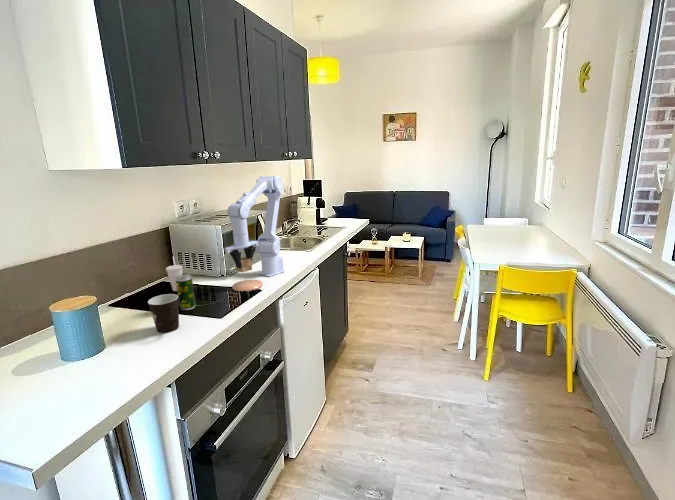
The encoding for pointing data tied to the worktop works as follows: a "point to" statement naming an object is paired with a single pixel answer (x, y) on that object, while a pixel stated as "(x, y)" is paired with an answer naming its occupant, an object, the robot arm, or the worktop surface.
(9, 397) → the worktop surface
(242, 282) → the terracotta dish
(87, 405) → the worktop surface
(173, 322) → the coffee mug
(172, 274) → the smoothie
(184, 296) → the beer can
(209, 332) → the worktop surface
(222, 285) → the worktop surface
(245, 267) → the walnut block
